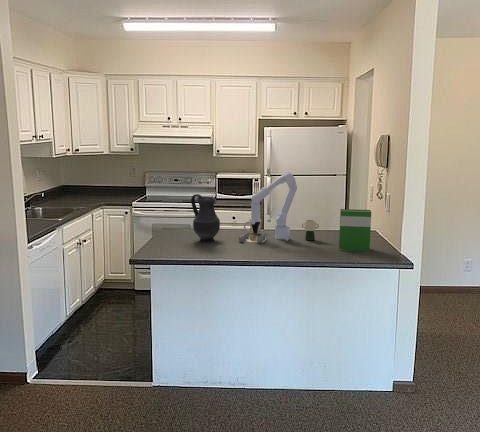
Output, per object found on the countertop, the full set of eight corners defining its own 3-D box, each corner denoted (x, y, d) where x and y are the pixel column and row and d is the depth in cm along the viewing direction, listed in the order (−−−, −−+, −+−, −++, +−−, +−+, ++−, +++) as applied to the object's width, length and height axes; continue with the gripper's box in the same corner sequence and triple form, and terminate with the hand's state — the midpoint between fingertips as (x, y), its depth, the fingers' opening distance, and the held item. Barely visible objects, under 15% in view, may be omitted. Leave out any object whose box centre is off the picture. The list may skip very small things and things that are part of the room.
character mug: (318, 239, 330) (318, 219, 327) (318, 241, 323) (319, 221, 320) (301, 238, 331) (302, 219, 329) (301, 241, 324) (302, 221, 322)
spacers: (266, 239, 326) (266, 233, 325) (261, 244, 312) (261, 238, 312) (244, 237, 330) (244, 232, 329) (238, 242, 316) (238, 237, 315)
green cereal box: (339, 250, 300) (340, 211, 296) (339, 247, 307) (340, 209, 303) (369, 251, 297) (371, 211, 293) (368, 248, 304) (370, 209, 300)
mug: (260, 235, 341) (260, 220, 339) (242, 234, 343) (242, 220, 341) (262, 232, 349) (262, 218, 347) (244, 232, 351) (244, 218, 349)
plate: (266, 239, 327) (266, 238, 327) (261, 245, 312) (261, 244, 312) (244, 238, 331) (244, 237, 331) (238, 243, 316) (238, 242, 316)
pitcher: (207, 245, 312) (207, 197, 306) (183, 240, 324) (182, 195, 319) (225, 240, 325) (225, 194, 320) (201, 236, 338) (200, 192, 332)
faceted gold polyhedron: (257, 239, 324) (257, 235, 324) (255, 241, 320) (255, 237, 320) (251, 239, 325) (251, 235, 325) (249, 240, 321) (249, 237, 321)
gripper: (252, 210, 334) (252, 230, 336) (247, 214, 320) (246, 235, 322) (262, 211, 332) (262, 231, 334) (257, 214, 318) (257, 235, 321)
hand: (255, 233), depth 328 cm, fingers closed
